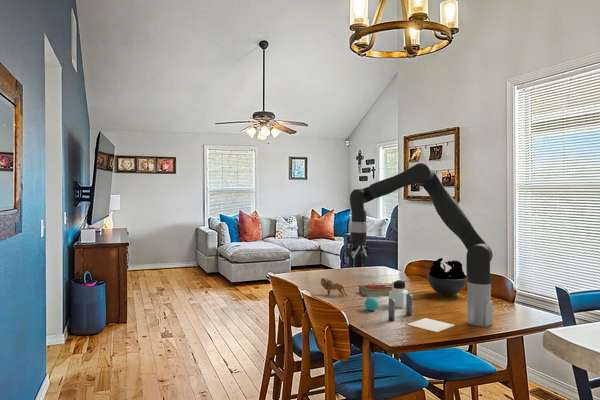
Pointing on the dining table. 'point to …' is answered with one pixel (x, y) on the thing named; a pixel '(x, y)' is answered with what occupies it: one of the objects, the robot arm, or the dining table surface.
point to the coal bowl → (447, 278)
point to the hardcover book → (376, 290)
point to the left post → (391, 310)
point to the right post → (409, 304)
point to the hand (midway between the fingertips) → (357, 265)
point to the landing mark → (431, 325)
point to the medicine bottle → (398, 293)
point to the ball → (371, 303)
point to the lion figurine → (332, 286)
